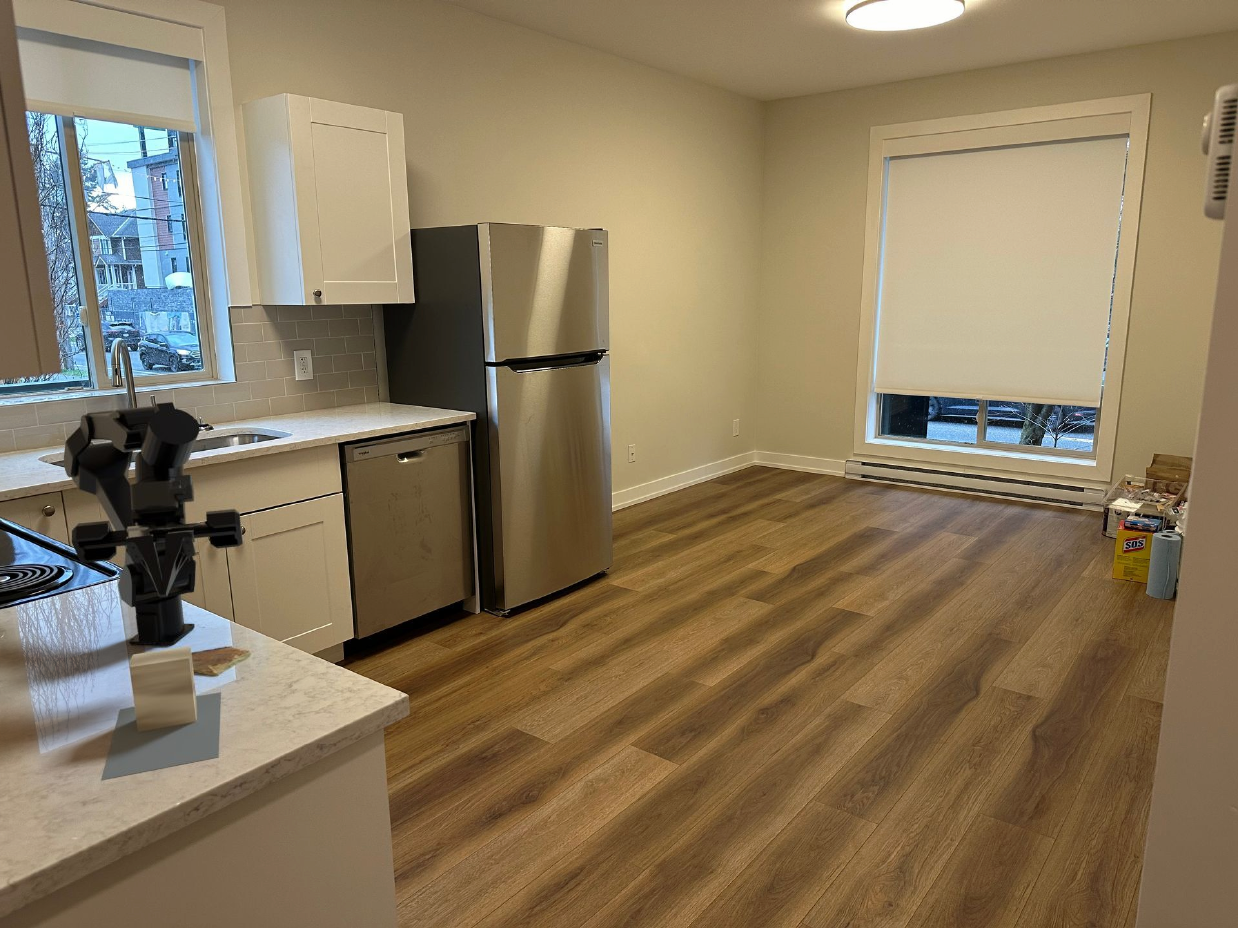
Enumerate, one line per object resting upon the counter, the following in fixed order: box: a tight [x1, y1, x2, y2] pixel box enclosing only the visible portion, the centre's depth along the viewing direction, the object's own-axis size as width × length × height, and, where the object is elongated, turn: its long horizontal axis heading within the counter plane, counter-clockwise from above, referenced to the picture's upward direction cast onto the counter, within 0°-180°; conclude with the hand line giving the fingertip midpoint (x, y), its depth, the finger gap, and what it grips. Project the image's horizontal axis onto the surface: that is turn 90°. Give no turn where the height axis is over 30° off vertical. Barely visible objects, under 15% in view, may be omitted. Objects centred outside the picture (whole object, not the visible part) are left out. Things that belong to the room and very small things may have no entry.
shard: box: [191, 645, 252, 677], centre depth 116 cm, size 11×8×2 cm
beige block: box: [129, 645, 197, 732], centre depth 100 cm, size 4×6×8 cm, turn 113°
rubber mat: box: [101, 691, 222, 781], centre depth 98 cm, size 16×11×1 cm
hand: (162, 595), depth 105 cm, fingers closed
